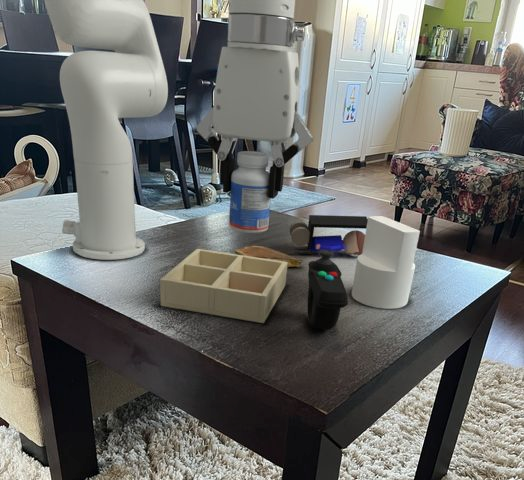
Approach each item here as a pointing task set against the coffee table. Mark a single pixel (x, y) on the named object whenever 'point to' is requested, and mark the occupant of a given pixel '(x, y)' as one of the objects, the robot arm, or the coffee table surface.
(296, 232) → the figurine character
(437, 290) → the coffee table surface
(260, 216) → the pill bottle
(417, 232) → the cylinder with rectangular tab
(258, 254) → the shard
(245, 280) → the open box
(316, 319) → the controller
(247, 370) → the coffee table surface
